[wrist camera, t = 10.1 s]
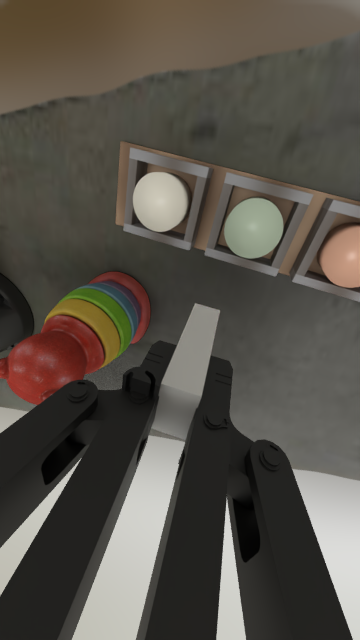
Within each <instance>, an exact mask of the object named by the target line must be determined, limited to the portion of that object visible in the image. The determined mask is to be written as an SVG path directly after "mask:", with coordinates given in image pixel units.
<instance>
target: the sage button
mask: <svg viewBox="0 0 360 640" xmlns="http://www.w3.org/2000/svg"><path fill="white" fill-rule="evenodd" d="M282 233H283V218H282V215H281V213H280V211H279V210H278V208H277V206H276V205H275V204H274V203H273V202H272V201H271V200H269V199H267V198H264V197H260V196H255V197H249V198H247V199H244V200H243V201H241V202H240V203H238V204H237V205H236V206H235V208H234V209H233V210H232V211H231V213H230V214H229V216H228V218H227V220H226V223H225V228H224V235H225V240H226V243H227V245H228V246H229V248H230V249H231V250H232V251H233V252H234V253H235V254H237V255H239V256H241V257H244V258H258V257H262V256H264V255H266V254H268V253H269V252H270V251H272V250H273V249H274V248H275V247H276V245H277V244H278V243H279V241H280V239H281V236H282Z"/></svg>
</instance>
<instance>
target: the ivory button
mask: <svg viewBox="0 0 360 640" xmlns="http://www.w3.org/2000/svg"><path fill="white" fill-rule="evenodd" d="M191 202H192V199H191V193H190V189H189V187H188V185H187V184H186V182H185V181H184V180H183V179H182V178H181V177H180V176H178V175H176V174H173V173H168V172H152V173H149V174H147V175H145V176H144V177H142V178H141V179H140V180H139V182H138V183H137V185H136V187H135V190H134V193H133V206H134V210H135V213H136V215H137V217H138V219H139V220H140V222H141V223H142V224H143V225H144V226H145V227H147V228H148V229H150V230H153V231H156V232H164V231H168V230H170V229H172V228H173V227H175V226H177V225H178V224H180V223H181V222H183V221H184V220H185V219H186V217H187V216H188V214H189V212H190V209H191Z"/></svg>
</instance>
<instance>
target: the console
mask: <svg viewBox="0 0 360 640" xmlns="http://www.w3.org/2000/svg"><path fill="white" fill-rule="evenodd" d="M152 172H168V173H173V174H176V175H178V176H180V177H181V178H182V179H183V180H184V181H185V182H186V184H187V185H188V187H189V189H190V193H191V199H192V202H191V209H190V212H189V214H188V216H187V217H186V219H185V220H184V221H183V222H181V223H180V224H178V225H177V226H175V227H173V228H172V229H170V230H168V231H164V232H156V231H153V230H150V229H148V228H147V227H145V226H144V225H143V224H142V223H141V222H140V220H139V219H138V217H137V215H136V213H135V210H134V206H133V193H134V190H135V187H136V185H137V183H138V182H139V180H140V179H141V178H142V177H144V176H145V175H147V174H149V173H152ZM255 196H260V197H264V198H267V199H269V200H271V201H272V202H273V203H274V204H275V205H276V206H277V208H278V210H279V211H280V213H281V215H282V218H283V233H282V236H281V239H280V241H279V243H278V244H277V245H276V247H275V248H274V249H273V250H272V251H270V252H269V253H268V254H266V255H264V256H262V257H258V258H244V257H241V256H239V255H237V254H235V253H234V252H233V251H232V250H231V249H230V248H229V246H228V245H227V243H226V240H225V235H224V228H225V223H226V220H227V218H228V216H229V214H230V213H231V211H232V210H233V209H234V208H235V206H236V205H237V204H238V203H240V202H241V201H243V200H244V199H247V198H249V197H255ZM347 223H360V202H358V201H354V200H350V199H347V198H343V197H339V196H335V195H331V194H327V193H323V192H319V191H315V190H311V189H307V188H303V187H299V186H296V185H292V184H288V183H284V182H280V181H276V180H272V179H268V178H264V177H260V176H256V175H252V174H248V173H244V172H241V171H237V170H233V169H229V168H225V167H221V166H217V165H213V164H209V163H205V162H201V161H197V160H193V159H190V158H186V157H182V156H178V155H174V154H170V153H166V152H162V151H158V150H154V149H150V148H146V147H142V146H139V145H135V144H131V143H127V142H123V141H121V143H120V159H119V175H118V191H117V207H116V223H115V224H117V225H121V226H124V230H123V231H126V232H129V233H132V234H136V235H139V236H142V237H146V238H149V239H152V240H156V241H159V242H162V243H166V244H169V245H172V246H176V247H179V248H182V249H186V250H189V251H190V249H191V248H192V247H195V248H198V249H201V250H205V254H204V255H205V256H209V257H212V258H215V259H219V260H222V261H225V262H229V263H232V264H235V265H239V266H242V267H245V268H249V269H252V270H255V271H259V272H262V273H265V274H269V275H272V276H275V277H276V275H277V273H282V274H285V275H288V276H290V277H291V280H292V282H295V283H299V284H302V285H305V286H309V287H312V288H315V289H319V290H322V291H325V292H329V293H332V294H335V295H338V296H342V297H345V298H348V299H352V300H355V301H358V302H360V287H354V288H348V287H342V286H339V285H336V284H334V283H333V282H331V281H330V280H329V279H328V277H327V276H326V275H325V273H324V272H323V270H322V269H321V267H320V266H319V264H318V261H317V251H318V249H319V247H320V246H321V244H322V242H323V240H324V238H325V236H326V235H327V234H328V233H329V232H330V231H331V230H333V229H334V228H336V227H338V226H340V225H343V224H347Z"/></svg>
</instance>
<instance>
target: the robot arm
mask: <svg viewBox="0 0 360 640" xmlns="http://www.w3.org/2000/svg"><path fill="white" fill-rule="evenodd" d="M219 314H220V310H217V309H214V308H210V307H207V306H203V305H200V304H196V303H195V305H194V307H193V309H192V312H191V314H190V316H189V319H188V321H187V324H186V326H185V328H184V331H183V333H182V335H181V338H180V340H179V342H178V345H177V346H176V345H173V344H170V343H167V342H163V341H158V342H157V343H155V344H153V345H152V347H151V348H150V350H149V352H148V354H147V355H146V357H145V359H144V361H143V362H142V364H141V366H140V367H134V368H131V369H129V370H127V371H126V372H125V373H124V374H123V383H122V389H119V390H98V389H97V386H96V385H95V384H94V383H93V382H90V381H88V380H75V381H71V382H69V383H67V384H65V385H64V386H63V387H61V388H60V389H59V390H57V391H56V392H55V393H53V394H52V395H51V396H49V397H48V398H47V399H45V400H44V401H43V402H41V403H40V404H39V405H37V406H36V407H35V408H33V409H32V410H31V411H29V412H28V413H27V414H25V415H24V416H23V417H22V418H20V419H19V420H18V421H16V422H15V423H13V424H12V425H11V426H10V427H8V428H7V429H6V430H4V431H3V432H2V433H0V548H1V547H2V545H3V544H4V543H5V542H6V541H7V540H8V539H9V538H10V537H11V535H12V534H13V533H14V532H15V531H16V530H17V529H18V528H19V526H20V525H21V524H22V523H23V522H24V521H25V520H26V519H27V518H28V517H29V515H30V514H31V513H32V512H33V511H34V510H35V509H36V508H37V507H38V505H39V504H40V503H41V502H42V501H43V500H44V499H45V498H46V497H47V495H48V494H49V493H50V492H51V491H52V490H53V489H54V488H55V487H56V485H57V484H58V483H59V482H60V481H61V480H62V479H63V478H64V477H65V476H66V474H67V473H68V472H69V471H70V470H71V469H72V468H73V467H74V466H75V464H76V463H77V462H78V461H79V460H80V459H81V458H82V459H81V461H80V462H79V464H78V466H77V467H76V469H75V471H74V472H73V474H72V476H71V477H70V479H69V481H68V482H67V484H66V486H65V487H64V489H63V491H62V493H61V495H60V496H59V498H58V500H57V501H56V503H55V504H54V506H53V508H52V509H51V511H50V513H49V515H48V516H47V518H46V520H45V521H44V523H43V525H42V527H41V528H40V530H39V532H38V533H37V535H36V537H35V538H34V540H33V542H32V543H31V545H30V547H29V548H28V550H27V552H26V554H25V555H24V557H23V559H22V560H21V562H20V564H19V565H18V567H17V569H16V570H15V572H14V574H13V576H12V577H11V579H10V581H9V582H8V584H7V586H6V587H5V589H4V591H3V593H2V594H1V596H0V640H72V637H73V635H74V632H75V629H76V627H77V624H78V622H79V619H80V616H81V613H82V611H83V608H84V606H85V603H86V600H87V598H88V595H89V592H90V590H91V587H92V584H93V582H94V579H95V577H96V574H97V571H98V569H99V566H100V564H101V561H102V558H103V556H104V553H105V551H106V548H107V545H108V542H109V540H110V537H111V535H112V532H113V530H114V527H115V524H116V522H117V519H118V517H119V514H120V511H121V509H122V506H123V503H124V501H125V498H126V496H127V493H128V490H129V488H130V485H131V482H132V480H133V477H134V475H135V472H136V469H137V467H138V464H139V461H140V459H141V456H142V453H143V451H144V448H145V446H146V443H147V439H148V435H149V432H150V429H151V427H152V429H155V430H158V431H161V432H163V433H166V434H169V435H172V436H175V437H178V438H180V439H183V440H186V442H185V446H184V449H183V452H182V454H181V457H180V460H179V463H178V464H179V467H178V471H177V475H176V479H175V483H174V487H173V491H172V495H171V499H170V504H169V508H168V512H167V516H166V520H165V524H164V528H163V532H162V536H161V540H160V544H159V548H158V552H157V556H156V560H155V565H154V569H153V573H152V577H151V581H150V585H149V589H148V593H147V597H146V601H145V605H144V609H143V613H142V617H141V621H140V626H139V629H138V634H137V638H136V640H216V634H217V620H218V607H219V592H220V579H221V566H222V552H223V538H224V524H225V511H226V498H227V500H228V507H229V514H230V522H231V530H232V537H233V545H234V552H235V559H236V567H237V574H238V582H239V589H240V597H241V604H242V611H243V619H244V626H245V634H246V640H353V639H352V636H351V633H350V630H349V628H348V625H347V622H346V619H345V616H344V614H343V611H342V608H341V605H340V602H339V600H338V597H337V594H336V591H335V589H334V585H333V583H332V580H331V577H330V575H329V571H328V569H327V566H326V563H325V560H324V558H323V555H322V552H321V549H320V546H319V543H318V541H317V538H316V535H315V532H314V530H313V527H312V524H311V521H310V518H309V516H308V513H307V510H306V507H305V504H304V501H303V499H302V496H301V493H300V490H299V487H298V485H297V482H296V479H295V476H294V474H293V471H292V468H291V465H290V462H289V460H288V458H287V456H286V454H285V453H284V452H283V451H282V449H281V448H280V447H279V446H277V445H276V444H274V443H273V442H271V441H267V440H257V441H256V442H253V441H251V440H250V439H249V438H247V437H246V436H244V435H243V434H241V433H240V432H239V431H238V430H237V429H236V428H235V427H234V425H233V424H232V422H231V419H230V415H229V409H230V398H231V385H232V374H233V369H232V366H231V364H230V362H229V361H227V360H224V359H220V358H217V357H214V356H211V351H212V346H213V341H214V337H215V332H216V328H217V323H218V318H219ZM32 332H33V317H32V314H31V311H30V308H29V306H28V304H27V302H26V301H25V299H24V297H23V296H22V295H21V293H20V292H19V291H18V289H17V288H16V287H15V286H14V285H13V284H12V283H11V282H10V281H9V280H8V279H6V278H5V277H4V276H3V275H1V274H0V352H2V351H4V350H8V349H12V348H14V347H15V346H16V345H17V344H19V343H20V342H21V341H23V340H24V339H26V338H28V337H30V336H31V334H32Z"/></svg>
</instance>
